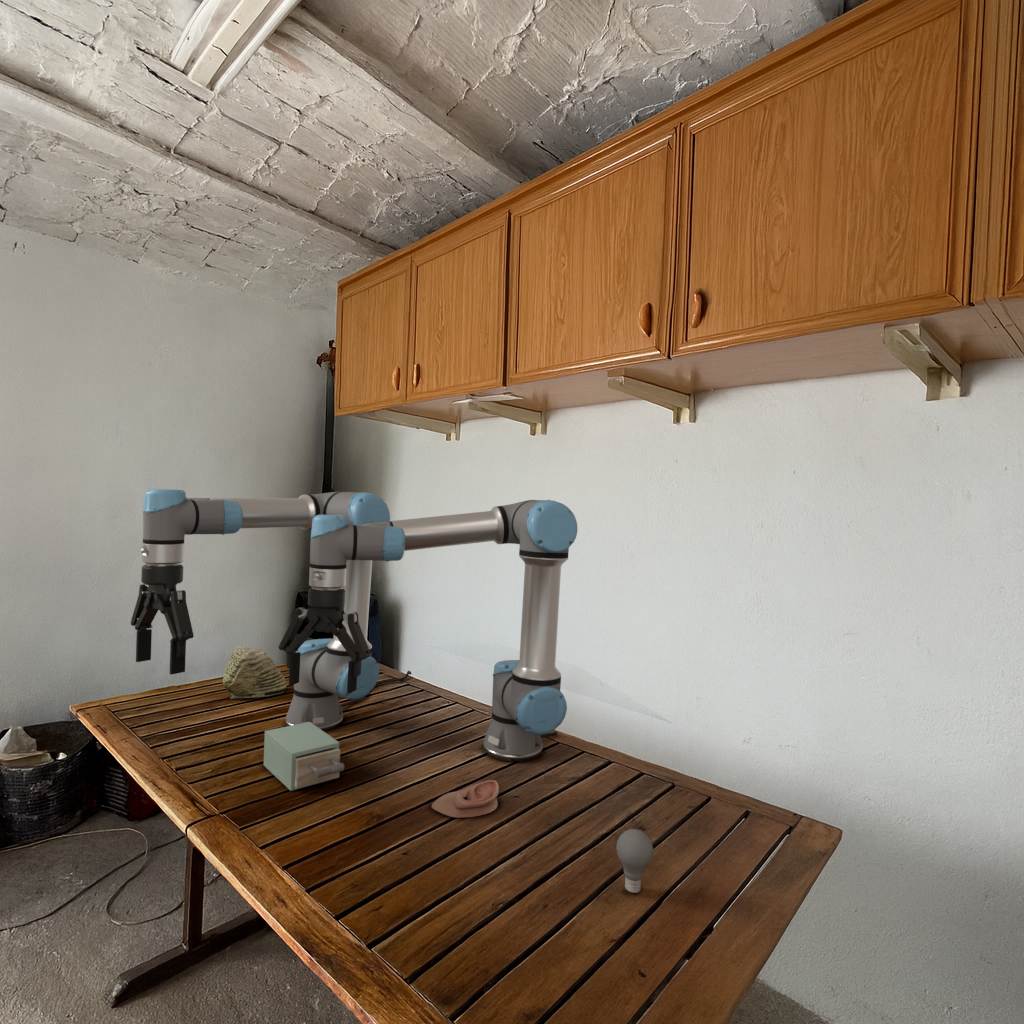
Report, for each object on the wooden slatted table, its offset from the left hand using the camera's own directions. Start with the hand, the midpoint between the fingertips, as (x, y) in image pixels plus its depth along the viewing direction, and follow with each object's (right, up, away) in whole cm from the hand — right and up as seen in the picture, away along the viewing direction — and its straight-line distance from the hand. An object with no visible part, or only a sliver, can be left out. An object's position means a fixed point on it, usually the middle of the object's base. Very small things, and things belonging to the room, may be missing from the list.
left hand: (159, 666), depth 130 cm
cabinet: (+24, -28, +15) cm, 40 cm away
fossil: (-8, -25, +68) cm, 73 cm away
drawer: (+28, -27, +11) cm, 40 cm away
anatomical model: (+63, -30, +2) cm, 70 cm away
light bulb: (+93, -32, -25) cm, 101 cm away
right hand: (+32, -5, +4) cm, 33 cm away
